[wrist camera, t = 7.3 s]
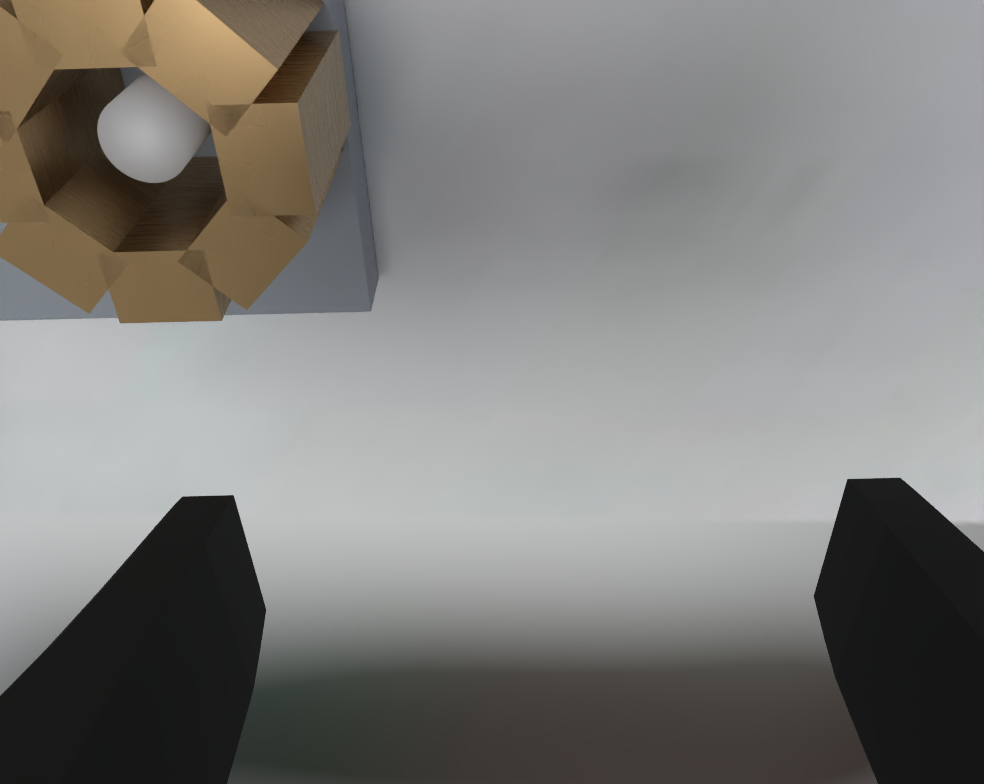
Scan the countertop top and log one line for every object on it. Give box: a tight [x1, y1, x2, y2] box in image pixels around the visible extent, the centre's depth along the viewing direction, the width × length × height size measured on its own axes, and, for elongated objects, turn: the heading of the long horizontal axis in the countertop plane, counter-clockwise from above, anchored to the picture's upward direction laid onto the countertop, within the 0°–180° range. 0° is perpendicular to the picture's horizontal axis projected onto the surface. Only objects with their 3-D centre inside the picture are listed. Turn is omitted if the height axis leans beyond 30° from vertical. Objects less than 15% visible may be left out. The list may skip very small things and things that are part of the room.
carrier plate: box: [0, 0, 378, 321], centre depth 15 cm, size 10×10×5 cm
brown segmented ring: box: [0, 0, 351, 323], centre depth 14 cm, size 5×5×4 cm
